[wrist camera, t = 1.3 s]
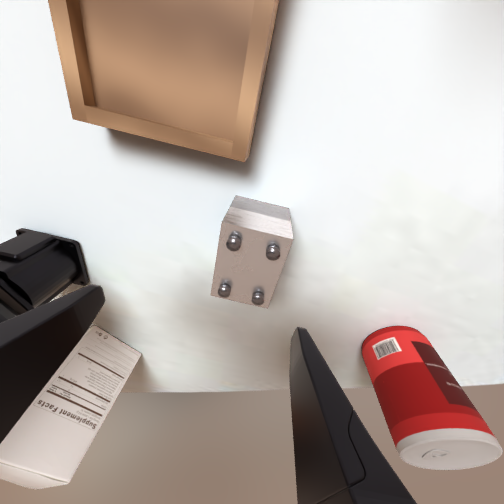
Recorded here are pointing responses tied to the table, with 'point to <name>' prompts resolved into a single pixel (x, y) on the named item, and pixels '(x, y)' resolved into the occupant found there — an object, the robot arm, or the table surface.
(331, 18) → the table surface
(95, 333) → the supplement box
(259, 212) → the housing
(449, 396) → the canned food
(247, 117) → the wooden tray
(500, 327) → the table surface
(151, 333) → the table surface
